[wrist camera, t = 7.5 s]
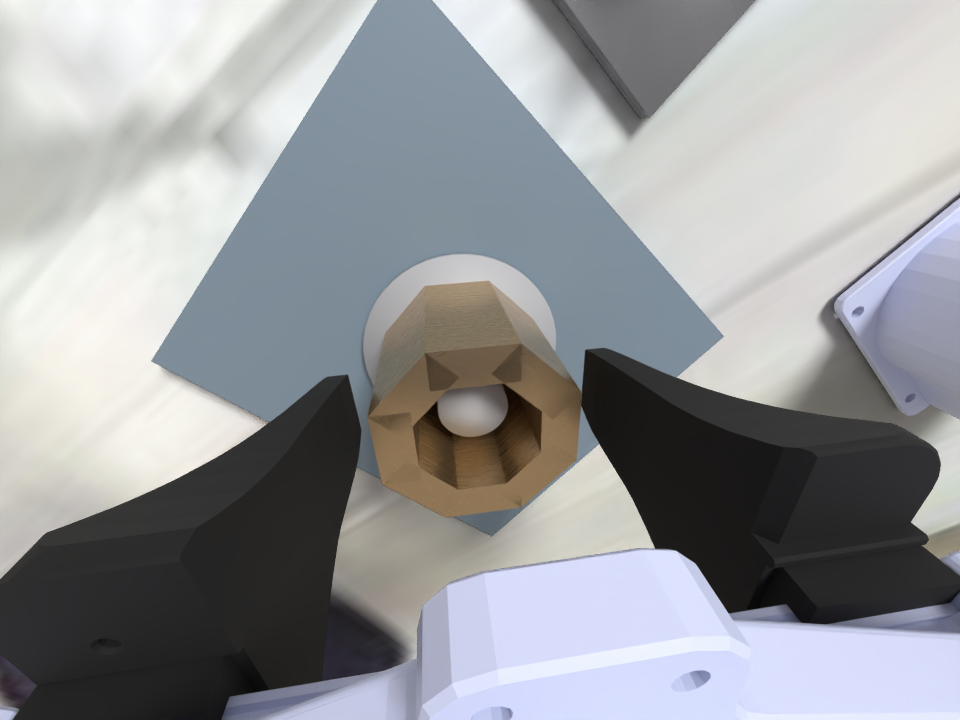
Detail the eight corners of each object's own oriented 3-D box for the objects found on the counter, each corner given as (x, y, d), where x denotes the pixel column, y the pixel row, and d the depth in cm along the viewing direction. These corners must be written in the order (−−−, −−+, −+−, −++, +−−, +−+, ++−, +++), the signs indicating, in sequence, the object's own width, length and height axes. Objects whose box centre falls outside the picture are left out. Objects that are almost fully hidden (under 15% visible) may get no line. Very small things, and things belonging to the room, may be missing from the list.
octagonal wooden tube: (533, 276, 13) (587, 337, 9) (531, 403, 16) (573, 500, 11) (378, 289, 13) (354, 360, 9) (400, 418, 15) (391, 525, 11)
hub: (711, 328, 17) (808, 388, 12) (489, 523, 20) (506, 619, 16) (402, -24, 10) (386, -144, 6) (164, 351, 14) (55, 434, 10)
